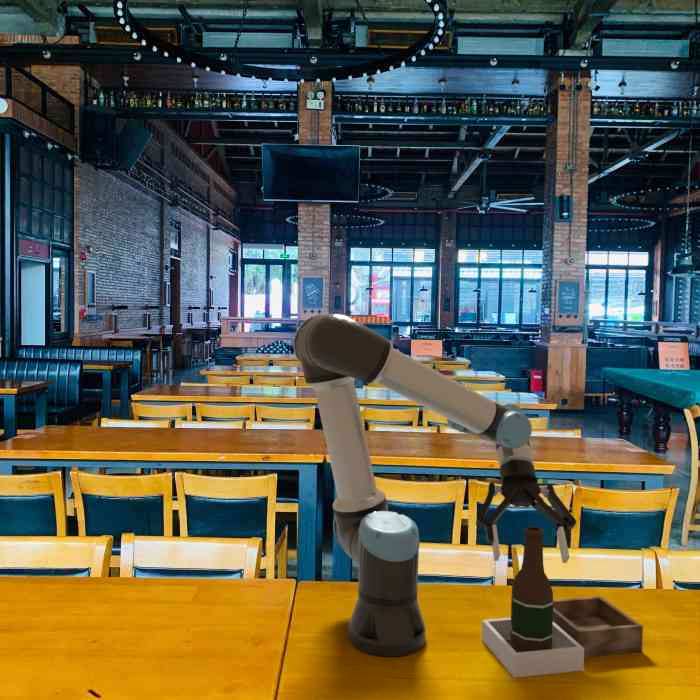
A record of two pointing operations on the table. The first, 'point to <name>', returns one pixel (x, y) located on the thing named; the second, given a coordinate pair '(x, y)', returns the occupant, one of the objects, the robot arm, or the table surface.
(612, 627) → the wooden bin
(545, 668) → the white corral
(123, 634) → the table surface
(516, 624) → the beer bottle
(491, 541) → the robot arm
